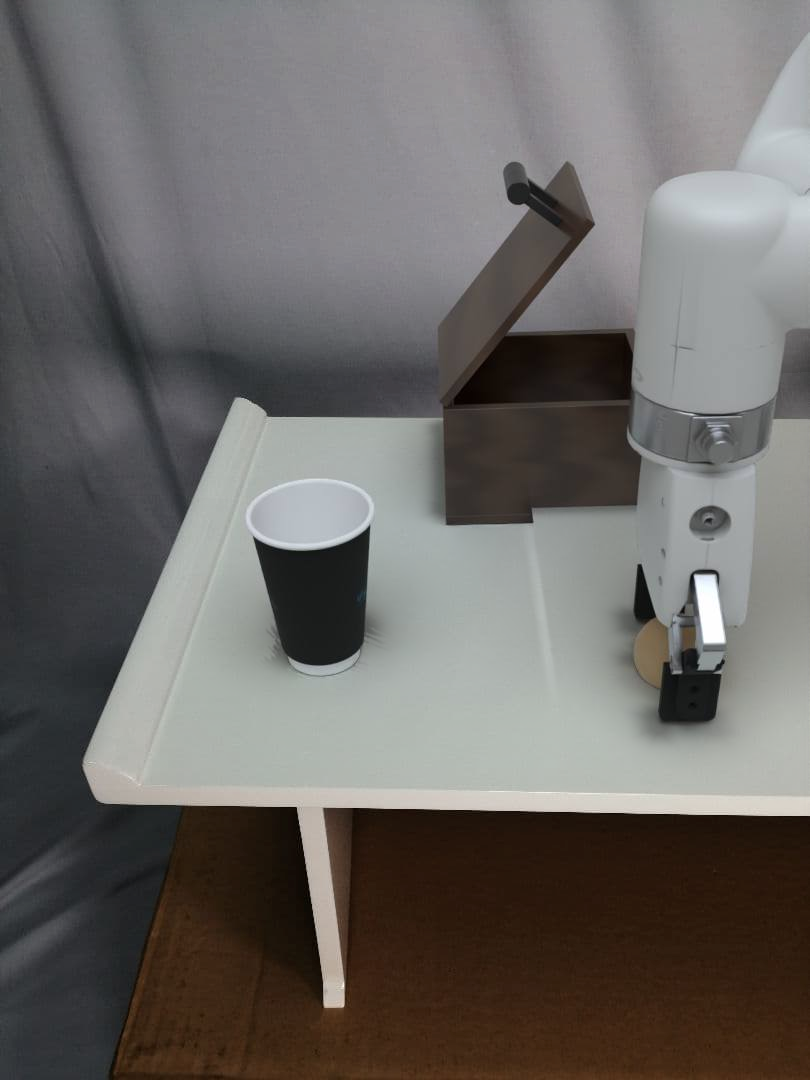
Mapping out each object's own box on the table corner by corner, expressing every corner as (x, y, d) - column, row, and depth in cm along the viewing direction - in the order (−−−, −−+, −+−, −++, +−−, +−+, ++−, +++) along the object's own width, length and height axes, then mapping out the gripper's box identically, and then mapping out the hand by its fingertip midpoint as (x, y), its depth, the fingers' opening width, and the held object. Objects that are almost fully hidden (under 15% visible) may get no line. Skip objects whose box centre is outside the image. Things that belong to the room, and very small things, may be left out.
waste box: (626, 435, 100) (633, 327, 95) (651, 519, 89) (661, 403, 84) (443, 440, 101) (440, 334, 96) (445, 525, 90) (442, 409, 84)
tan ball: (704, 658, 75) (712, 595, 72) (720, 711, 71) (729, 645, 68) (625, 660, 75) (630, 597, 72) (637, 712, 71) (643, 647, 68)
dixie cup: (408, 656, 76) (401, 512, 70) (307, 709, 73) (291, 562, 67) (338, 602, 82) (326, 464, 76) (240, 648, 78) (219, 507, 72)
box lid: (574, 166, 88) (520, 125, 86) (595, 224, 77) (534, 178, 75) (444, 331, 96) (393, 297, 94) (446, 407, 84) (388, 369, 83)
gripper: (815, 496, 55) (767, 763, 65) (735, 347, 70) (705, 582, 79) (655, 499, 56) (630, 764, 65) (608, 350, 70) (593, 584, 79)
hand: (671, 664), depth 72 cm, fingers open, 9 cm apart
